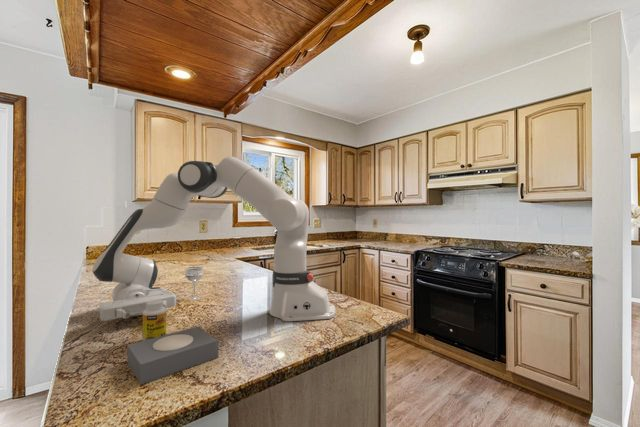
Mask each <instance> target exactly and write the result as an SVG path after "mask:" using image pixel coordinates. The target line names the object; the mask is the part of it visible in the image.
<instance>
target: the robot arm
mask: <svg viewBox="0 0 640 427" xmlns="http://www.w3.org/2000/svg"><path fill="white" fill-rule="evenodd" d="M228 189H229V190H230V191H231V192H233V193H234V194H235V195H237V197H238V196H239V198H241V199H242V200H243V201H245V202H247V204H249V205H250V206H252V207H253V208H254V209H255V210H256V211H257V212H258V213H259V214H260V215H261V216H262V217H263V218H264V219H265V220H267V222H268V223H269V224H270V225H272V226H273V228H275V229H277V234H276V239H275V243H274V246H273V247H274V248H273V257H274V258H273V271H272V279H271V280H272V282H271V283H272V287H273V291H272V293H273V294H272V297H271V298H272V300H271V304H270V308H269V311H268V312H269V315H270V316H272V317H275V318H278V319H280V320H281V321H283V322H298V321H299V322H302V321H313V320H314V321H315V320H329V319H332V318H334V316H335V315H336V307H335V305H334V304H332V303H330V301H329V296H328V294H327V291H326V290H325V289H324V288H322V287H321V286H319V285H318V284H317V283H316V282H314V281H313V279H314V274H313V272H312V270H308V269H307V249H308V248H307V246H308V237H309V226H310V225H309V222H310V210H309V206H308V205H307V204H306V202H304V201H303V200H302V199H298V198H295V197H293V196H291V195H290V194H288V193H287V192H286V191H284V189H283V188H281V187H279V186H278V185H277V184H276V183H275V182H274V181H273V180H272V179H270V178H268V177H267V176H266V175H264V174H263V173H262V172H260V171H259V170H258V169H256V168H255V167H253V166H252V165H250V164H249V163H246V162H245V161H243V160H242V159H239V158H237V157H236V156H227V157H224V158H223V159H222V160H221V161H219V163H218V164H216V165H214V163H212V162H210V161H201V160H189V161H186V162H184V163H183V164H182V165H181V166H180V167H179V168H178V170H177V173H176V172H175V173H169V174H168V175H166V177H165V178H164V179H163V181H162V182H161V184H160V185H159V186H158V189H157V190H156V192H155V194H154V196H153V198H152V200H151V201H150V202H149V204H147V205H146V206H144V207H143V208H139V209H136V210H135V211H133V212H132V214H130V216H129V217H128V218H127V220H126V221H125V222H124V223H123V225H122V226H121V228H120V229H119V230H118V231H117V233H116V235H115V236H114V237H113V239H112V240H111V241H110V243H109V244H108V246H107V247H106V248H105V249H104V250H103V251H102V253H101V254H100V255H98V257H97V259H95V262H94V264H93V266H92V274H93V275H94V277H95V278H96V279H97V280H98V281H100V282H108V283H117V284H116V285H115V287H114V288H113V290H112V294H111V296H112V300H111V301H106V302H103V303H101V304H100V306H99V307H96V308H95V312H96V313H99V320H100V321H101V322H103V321H104V322H106V321H111V320H116V319H121V318H122V319H129V318H131V317H137V316H140V315H143V311H144V310H145V309H146V303H147V302H149V301H153V300H163V307H165V308H166V309H167V308H173V307H175V306H176V305H177V296H176V294H175V293H174V292H173V291H170V290H167V289H165V287H163V286H160V287H159V286H157V287H156V286H155V287H153V286H154V284H155V283H156V281H157V278H158V274H159V270H158V266H157V264H156V262H155V260H154V259H151V258H146V257H143V256H136V255H133V254H132V255H131V254H129V253H127V254H126V253H124V252H123V251H124V250H125V249H126V247H127V246H128V244H129V243H130V241H131V240H132V239H133V237H134V236H135V235H136V234H137V233H138V232H141V231H145V230H152V229H166V228H170V227H174V226H175V225H177V224H178V223H180V221H181V220H182V218H183V216H184V214H185V212H186V210H187V208H188V207H189V206H188V205H189V203H190V202H191V200H192V199H193V198H194V197H196V196H198V197H200V198H209V199H217V198H220V197H222V196H223V195H225V194H226V193H227V190H228Z"/></svg>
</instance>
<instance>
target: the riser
mask: <svg viewBox="0 0 640 427" xmlns="http://www.w3.org/2000/svg"><path fill="white" fill-rule="evenodd" d="M126 356H127V357H126V359H127V360H126V362H127V364H128V366H129V367H130V370H131V371H132V373H133V374H134V376H135V377H136V379H137V381H138V383H139V384H140V385H144V384H146V383H149V382H152V381H155V380H158V379H161V378H164V377H166V376H169V375H173V374H175V373H178V372H181V371H183V370H186V369H189V368H192V367H195V366H197V365H201V364H203V363H206V362H209V361H212V360H215V359H218V358H219V340H218V339H217V338H215V337H214V336H213V335H211V334H210V333H208V332H207V331H206V330H204V329H203V328H201V327H200V326H198V325H197V326H194V327H190V328H187V329H181V330H179V331H175V332H171V333H166V335H163V336H160V337H156V338H152V339H148V340H144V341H143V340H141V341H137V342H133V343H131V344H127V345H126Z"/></svg>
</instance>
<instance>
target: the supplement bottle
mask: <svg viewBox="0 0 640 427" xmlns="http://www.w3.org/2000/svg"><path fill="white" fill-rule="evenodd" d="M163 335H167V308H165V307H163V300H153V301H149V302H147V303H146V309H145V310H144V311H143V313H142V341H144V340H148V339H152V338H156V337H160V336H163Z"/></svg>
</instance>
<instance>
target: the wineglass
mask: <svg viewBox="0 0 640 427" xmlns="http://www.w3.org/2000/svg"><path fill="white" fill-rule="evenodd" d="M203 269H204V267H203V266H189V267H186V268H185V272H184V276H185V279H187V280H188V281H190V282H192V283H193V284H192V285H193V288H192V289H193V296H191V297H188V298H187V300H188V301H198V300H200V299H202V297H201V296H196V283H197V282H198V281H199V280H201V279H202V278H203V276H204V271H203Z"/></svg>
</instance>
